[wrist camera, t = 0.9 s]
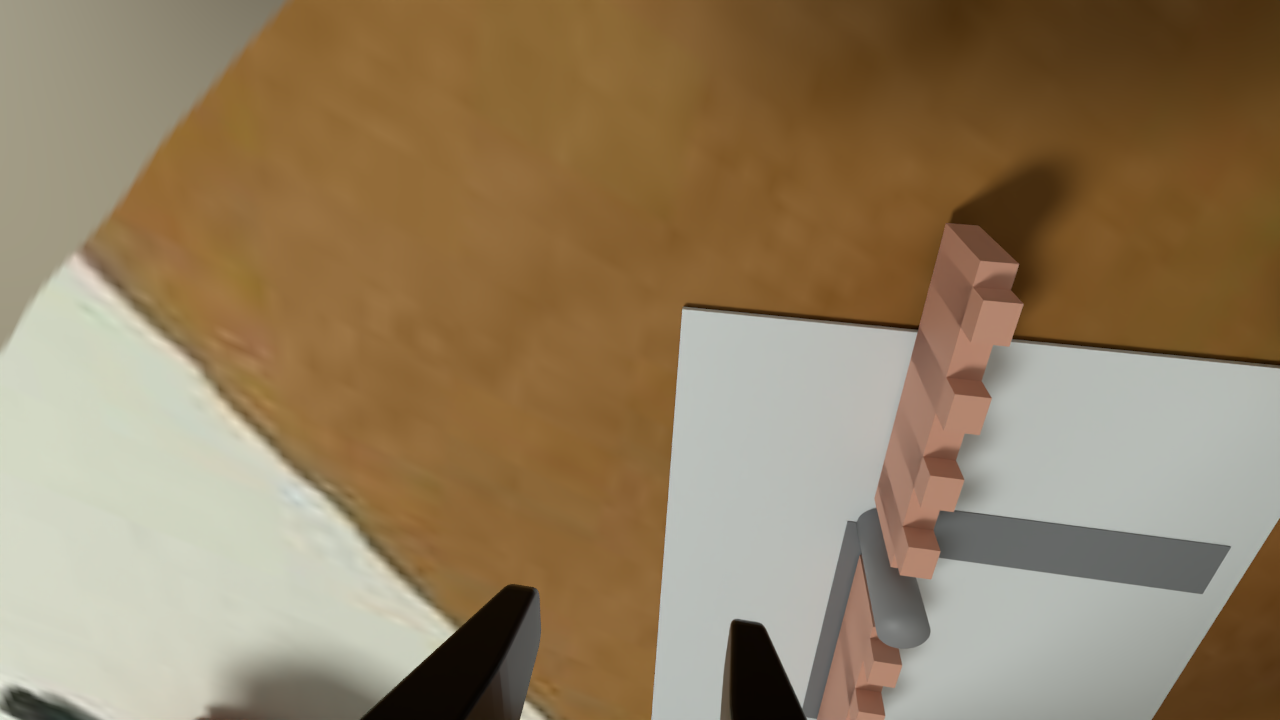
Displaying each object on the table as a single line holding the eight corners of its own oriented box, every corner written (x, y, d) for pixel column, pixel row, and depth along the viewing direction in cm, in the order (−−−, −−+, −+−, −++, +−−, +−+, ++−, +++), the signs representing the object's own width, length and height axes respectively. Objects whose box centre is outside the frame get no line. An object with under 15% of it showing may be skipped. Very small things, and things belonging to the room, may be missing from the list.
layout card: (1091, 806, 27) (1093, 812, 27) (651, 727, 29) (650, 732, 29) (1362, 373, 17) (1370, 378, 17) (683, 306, 20) (682, 309, 19)
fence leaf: (900, 501, 21) (926, 593, 18) (874, 498, 21) (895, 588, 18) (979, 225, 17) (1032, 276, 14) (945, 223, 17) (991, 273, 14)
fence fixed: (843, 717, 27) (857, 839, 23) (807, 712, 27) (815, 831, 23) (904, 507, 22) (936, 617, 18) (859, 501, 22) (882, 608, 18)
